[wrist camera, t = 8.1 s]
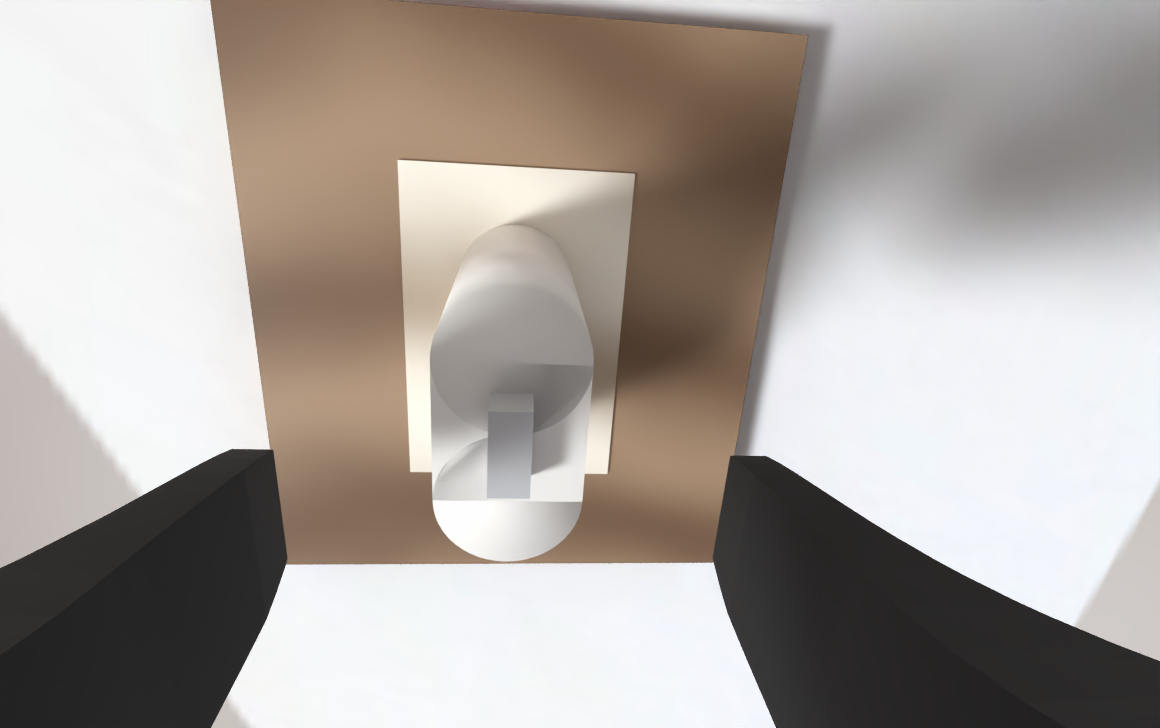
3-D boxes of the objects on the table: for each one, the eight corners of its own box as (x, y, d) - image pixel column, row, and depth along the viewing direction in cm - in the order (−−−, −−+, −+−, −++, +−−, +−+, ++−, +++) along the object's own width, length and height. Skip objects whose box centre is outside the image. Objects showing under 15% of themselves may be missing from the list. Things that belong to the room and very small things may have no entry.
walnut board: (707, 543, 23) (716, 564, 22) (295, 544, 21) (284, 566, 20) (792, 38, 17) (810, 34, 16) (227, -8, 15) (206, -16, 14)
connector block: (560, 429, 19) (580, 588, 13) (459, 426, 19) (428, 588, 13) (574, 227, 17) (605, 300, 11) (459, 221, 17) (421, 292, 10)
